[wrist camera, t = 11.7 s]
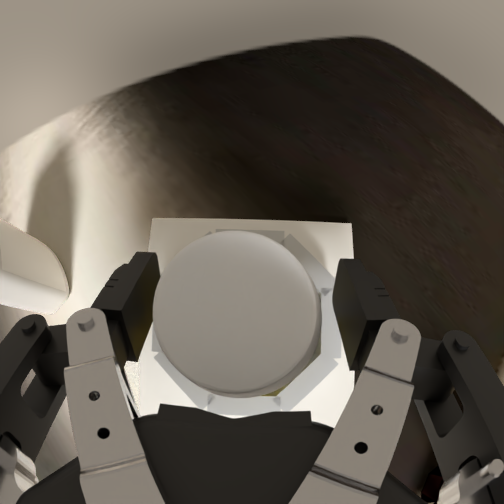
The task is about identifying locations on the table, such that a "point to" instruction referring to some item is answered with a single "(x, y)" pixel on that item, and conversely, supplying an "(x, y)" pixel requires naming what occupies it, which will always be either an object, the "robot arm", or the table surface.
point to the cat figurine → (432, 486)
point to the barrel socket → (328, 348)
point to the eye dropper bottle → (29, 273)
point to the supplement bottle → (237, 314)
